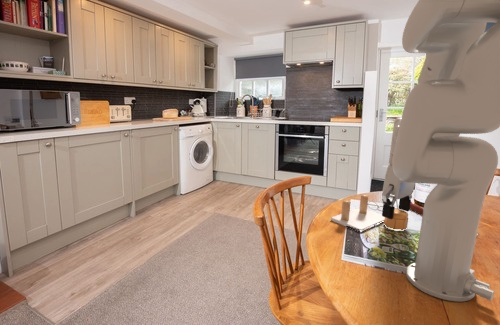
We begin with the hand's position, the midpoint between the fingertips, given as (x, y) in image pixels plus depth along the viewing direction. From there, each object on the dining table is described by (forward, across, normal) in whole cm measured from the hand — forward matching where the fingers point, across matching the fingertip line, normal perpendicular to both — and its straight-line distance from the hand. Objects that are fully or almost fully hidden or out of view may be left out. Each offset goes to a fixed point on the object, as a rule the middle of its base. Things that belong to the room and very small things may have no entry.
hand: (395, 213), depth 90 cm
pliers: (+5, -19, +1) cm, 20 cm away
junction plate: (+4, +5, -9) cm, 11 cm away
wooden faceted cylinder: (+4, +1, +1) cm, 4 cm away
